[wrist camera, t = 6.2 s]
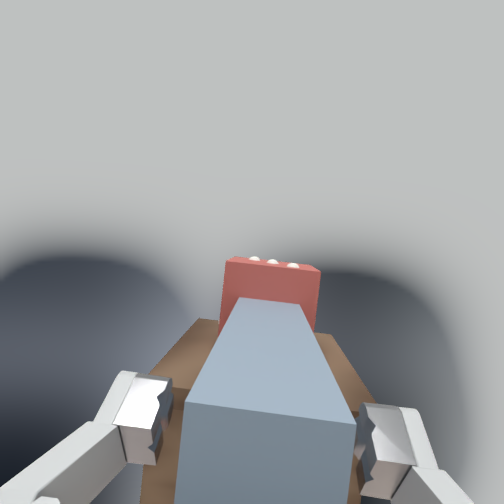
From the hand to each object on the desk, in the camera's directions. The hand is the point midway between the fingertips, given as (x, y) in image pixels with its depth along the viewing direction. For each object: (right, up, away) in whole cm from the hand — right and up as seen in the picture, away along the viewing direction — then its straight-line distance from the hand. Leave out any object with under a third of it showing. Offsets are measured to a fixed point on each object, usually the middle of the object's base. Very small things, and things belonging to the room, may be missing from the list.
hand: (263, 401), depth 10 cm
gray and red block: (0, -2, +6) cm, 6 cm away
